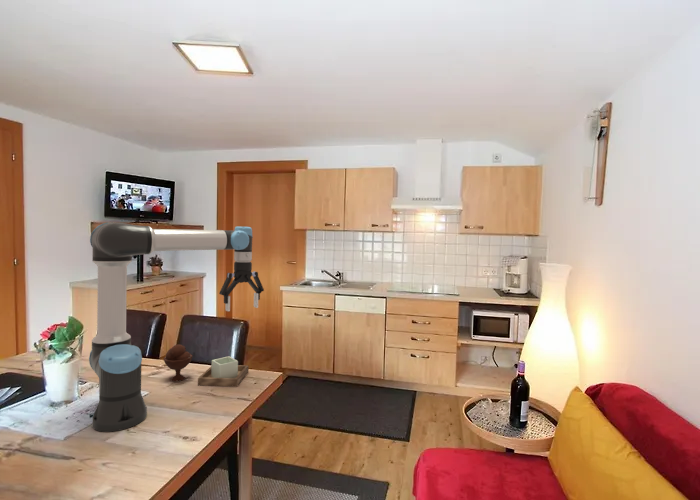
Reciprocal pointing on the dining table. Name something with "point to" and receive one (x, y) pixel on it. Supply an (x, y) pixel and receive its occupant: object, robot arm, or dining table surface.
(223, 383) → the walnut tray
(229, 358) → the sage crate
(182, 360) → the ice cream bowl
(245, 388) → the dining table surface
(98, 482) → the dining table surface
